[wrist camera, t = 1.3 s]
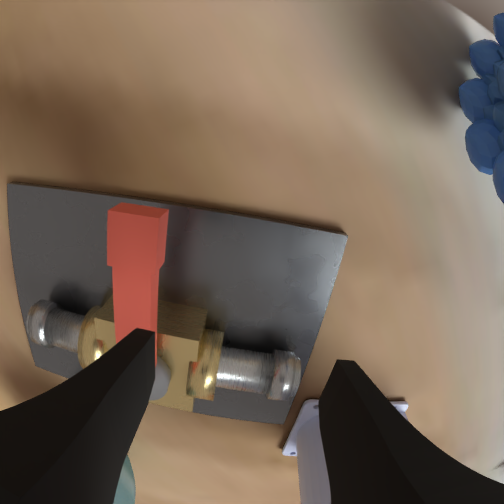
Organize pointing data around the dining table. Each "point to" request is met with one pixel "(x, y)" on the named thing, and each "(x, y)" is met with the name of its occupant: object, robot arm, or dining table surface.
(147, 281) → the lever
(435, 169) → the dining table surface
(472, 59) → the grapes
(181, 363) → the valve body
